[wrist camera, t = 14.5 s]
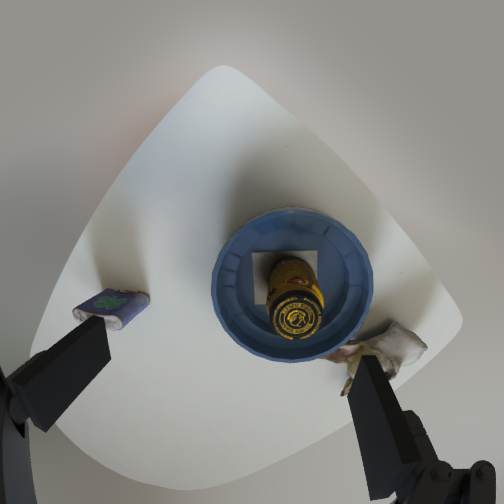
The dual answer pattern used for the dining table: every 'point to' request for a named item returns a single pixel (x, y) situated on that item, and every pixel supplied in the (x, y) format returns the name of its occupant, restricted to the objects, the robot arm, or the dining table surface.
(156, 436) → the dining table surface
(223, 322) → the basin
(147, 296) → the flask
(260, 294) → the condiment
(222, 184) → the dining table surface
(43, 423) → the robot arm
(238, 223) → the dining table surface
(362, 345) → the ceramic sculpture
